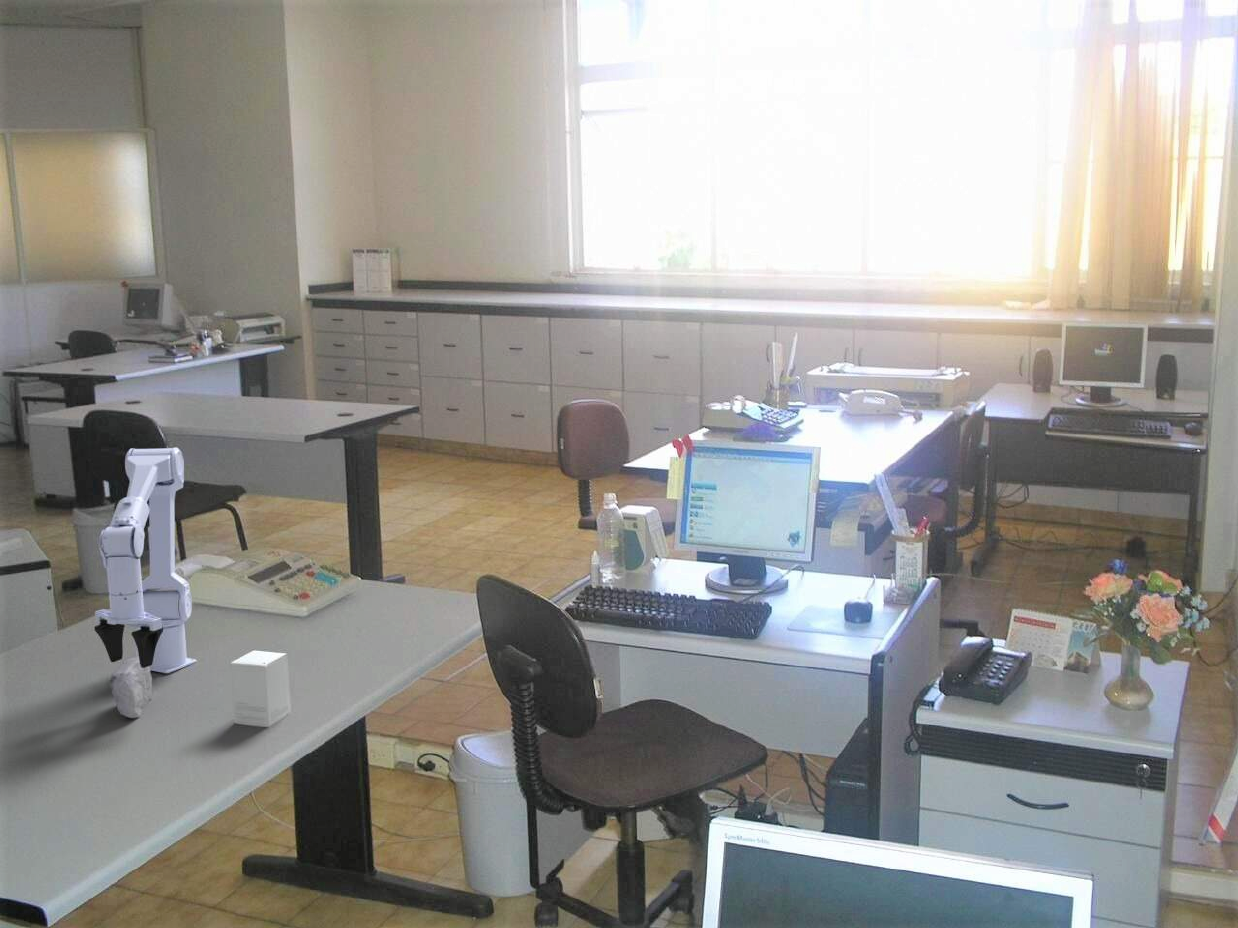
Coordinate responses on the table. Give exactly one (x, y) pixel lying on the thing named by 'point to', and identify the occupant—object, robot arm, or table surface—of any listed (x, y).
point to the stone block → (131, 687)
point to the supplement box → (260, 688)
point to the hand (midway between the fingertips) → (131, 663)
